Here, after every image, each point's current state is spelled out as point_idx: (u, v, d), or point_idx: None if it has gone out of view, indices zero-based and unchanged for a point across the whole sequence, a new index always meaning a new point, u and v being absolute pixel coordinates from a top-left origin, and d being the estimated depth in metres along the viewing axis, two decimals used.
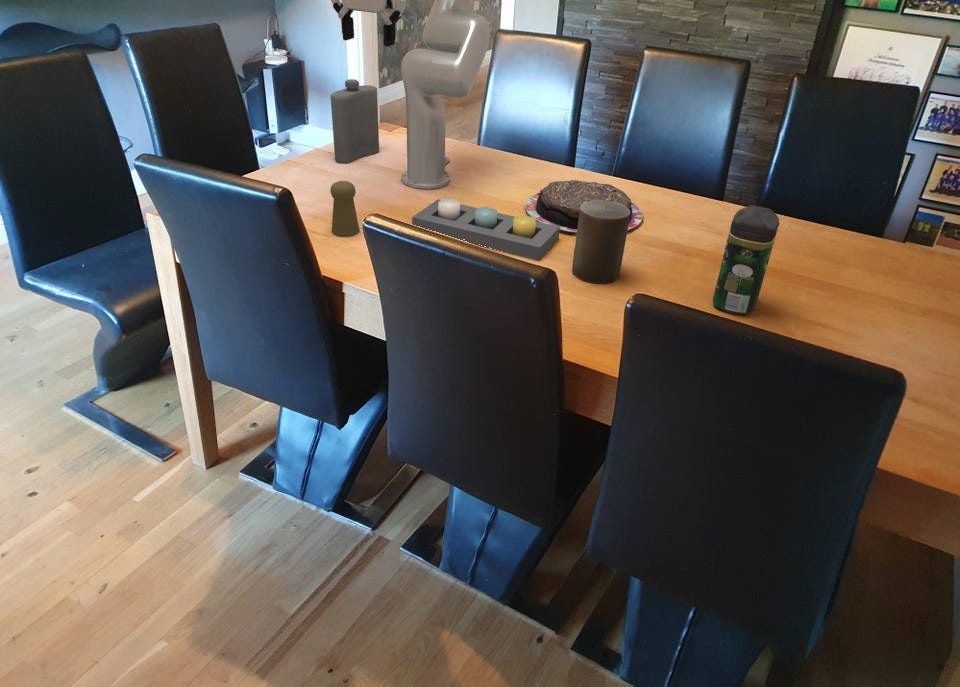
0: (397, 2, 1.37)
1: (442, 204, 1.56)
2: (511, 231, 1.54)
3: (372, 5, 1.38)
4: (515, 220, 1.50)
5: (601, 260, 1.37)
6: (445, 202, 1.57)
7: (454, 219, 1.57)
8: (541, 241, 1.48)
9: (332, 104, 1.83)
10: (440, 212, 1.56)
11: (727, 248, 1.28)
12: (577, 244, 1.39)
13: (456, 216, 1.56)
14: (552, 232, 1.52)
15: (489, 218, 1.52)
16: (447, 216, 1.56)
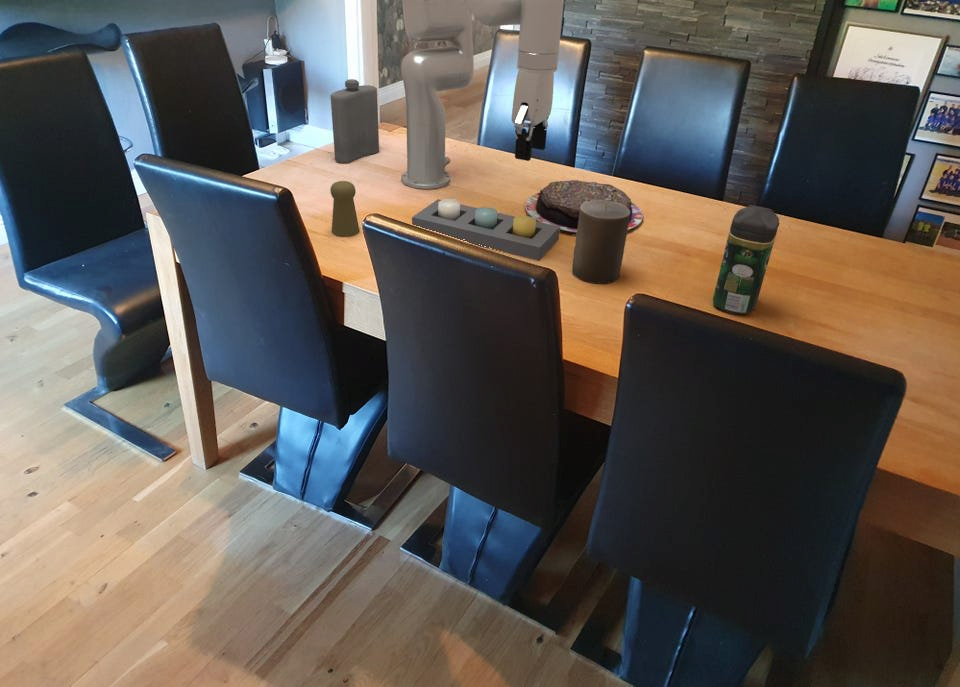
0: None
1: (442, 204, 1.56)
2: (511, 231, 1.54)
3: (548, 112, 1.40)
4: (515, 220, 1.50)
5: (601, 260, 1.37)
6: (445, 202, 1.57)
7: (454, 219, 1.57)
8: (541, 241, 1.48)
9: (332, 104, 1.83)
10: (440, 212, 1.56)
11: (727, 248, 1.28)
12: (577, 244, 1.39)
13: (456, 216, 1.56)
14: (552, 232, 1.52)
15: (489, 218, 1.52)
16: (447, 216, 1.56)
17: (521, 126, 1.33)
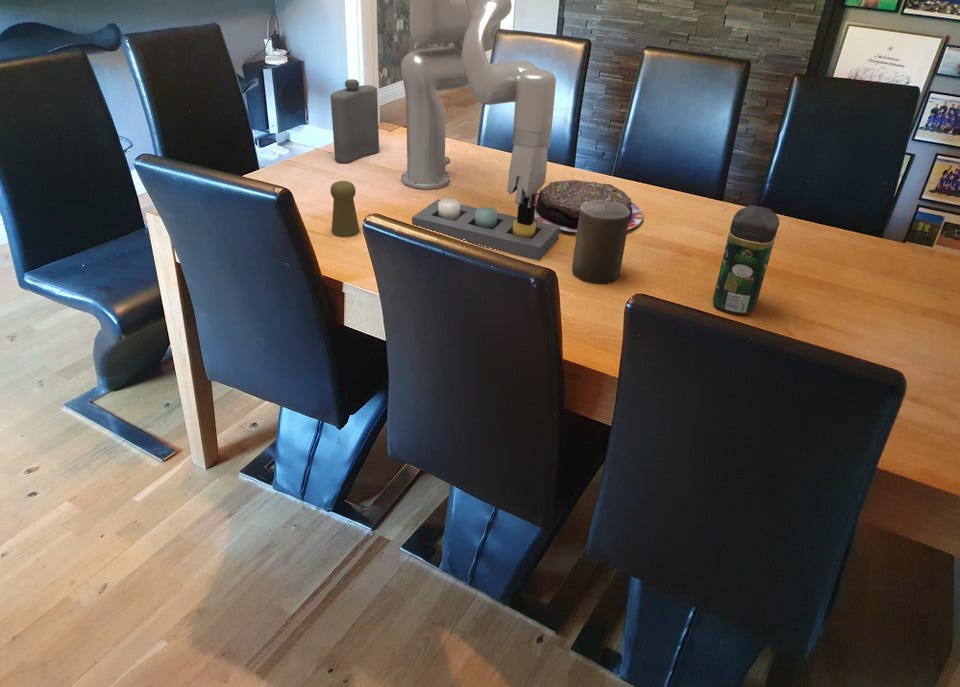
0: None
1: (442, 204, 1.56)
2: (511, 231, 1.54)
3: (542, 182, 1.47)
4: (515, 222, 1.51)
5: (601, 260, 1.37)
6: (445, 202, 1.57)
7: (454, 219, 1.57)
8: (541, 241, 1.48)
9: (332, 104, 1.83)
10: (440, 212, 1.56)
11: (727, 248, 1.28)
12: (577, 244, 1.39)
13: (456, 216, 1.56)
14: (552, 232, 1.52)
15: (489, 218, 1.52)
16: (447, 216, 1.56)
17: (521, 202, 1.43)
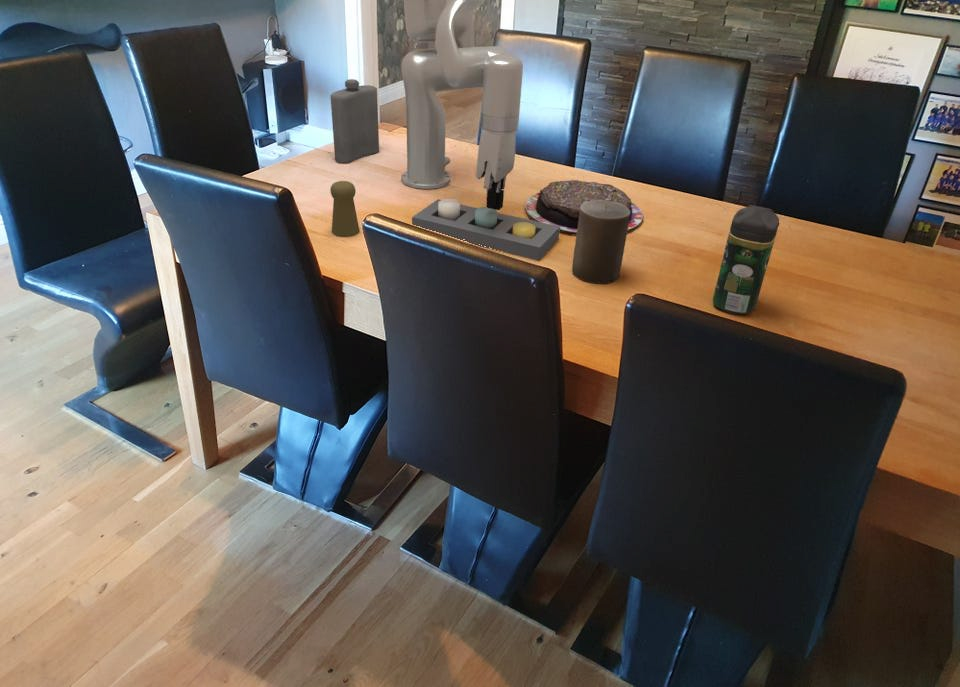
0: None
1: (442, 204, 1.56)
2: (511, 231, 1.54)
3: (511, 167, 1.49)
4: (515, 227, 1.51)
5: (601, 260, 1.37)
6: (445, 202, 1.57)
7: (454, 219, 1.57)
8: (541, 241, 1.48)
9: (332, 104, 1.83)
10: (440, 212, 1.56)
11: (727, 248, 1.28)
12: (577, 244, 1.39)
13: (456, 216, 1.56)
14: (552, 232, 1.52)
15: (489, 218, 1.52)
16: (447, 216, 1.56)
17: (490, 187, 1.45)
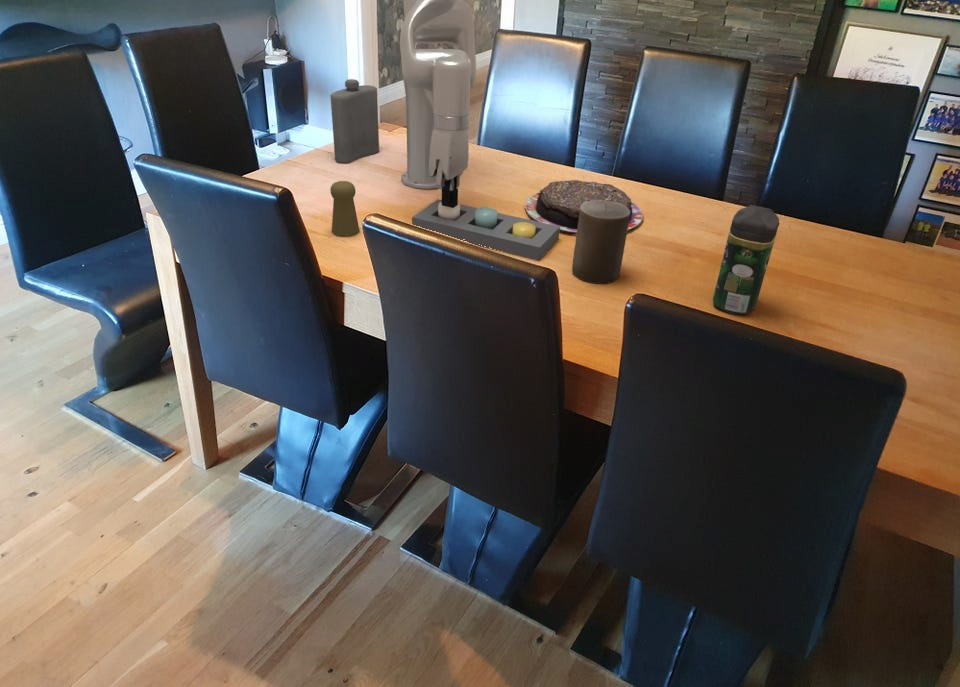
0: None
1: (442, 206, 1.56)
2: (511, 231, 1.54)
3: (464, 166, 1.53)
4: (515, 227, 1.51)
5: (601, 260, 1.37)
6: None
7: None
8: (541, 241, 1.48)
9: (332, 104, 1.83)
10: (440, 214, 1.56)
11: (727, 248, 1.28)
12: (577, 244, 1.39)
13: (456, 218, 1.57)
14: (552, 232, 1.52)
15: (489, 218, 1.52)
16: (447, 218, 1.56)
17: (442, 184, 1.49)
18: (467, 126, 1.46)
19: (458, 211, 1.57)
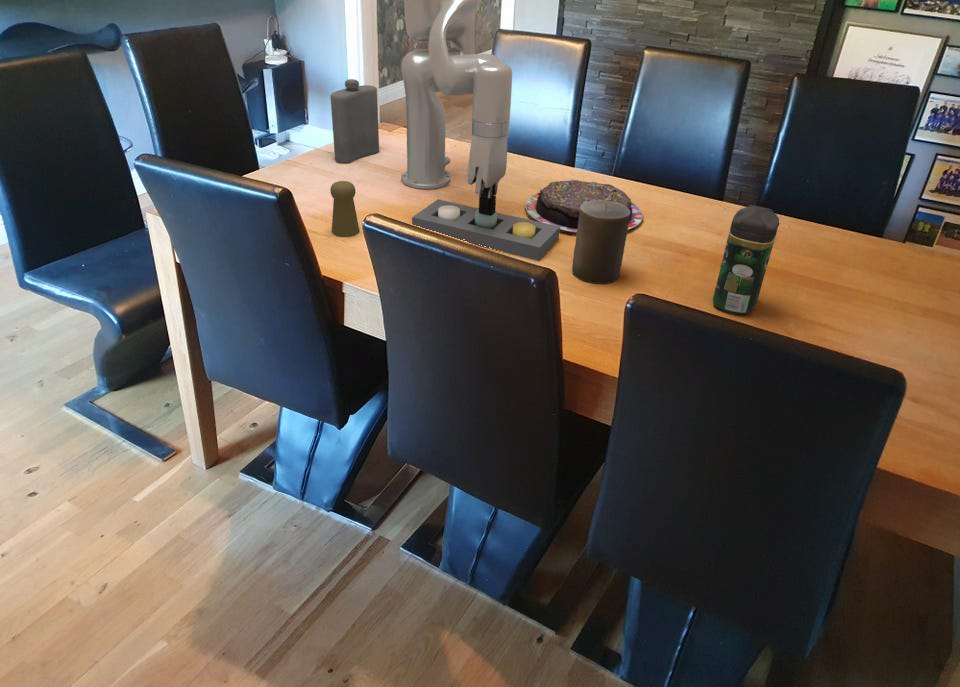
0: None
1: (442, 210, 1.57)
2: (511, 231, 1.54)
3: (502, 173, 1.50)
4: (515, 227, 1.51)
5: (601, 260, 1.37)
6: (445, 209, 1.58)
7: None
8: (541, 241, 1.48)
9: (332, 104, 1.83)
10: None
11: (727, 248, 1.28)
12: (577, 244, 1.39)
13: None
14: (552, 232, 1.52)
15: (489, 220, 1.52)
16: None
17: (481, 192, 1.46)
18: (507, 133, 1.43)
19: (458, 216, 1.57)
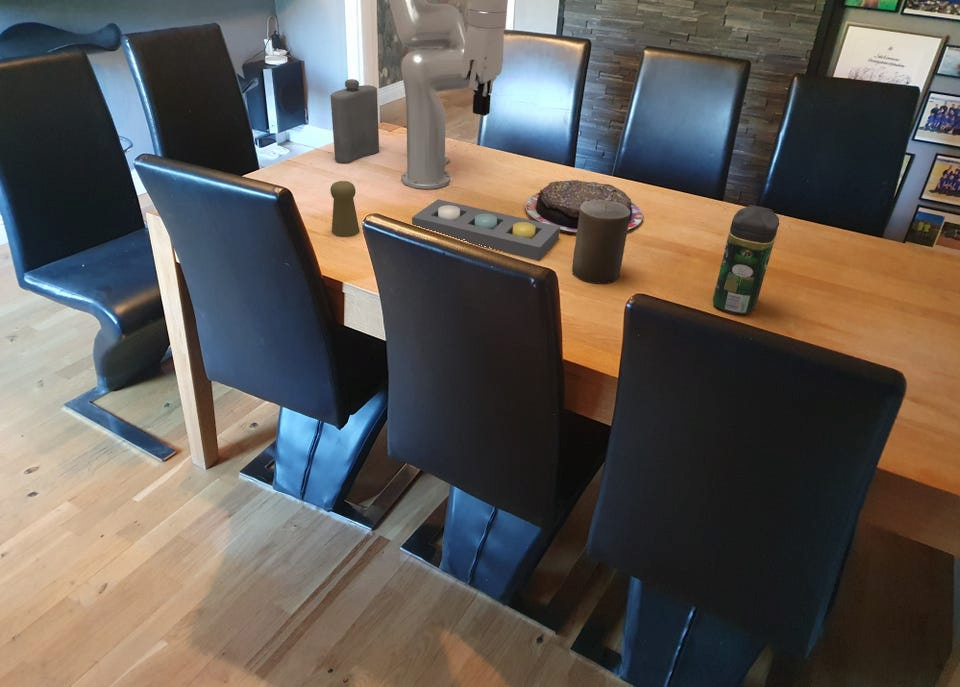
0: None
1: (442, 210, 1.57)
2: (511, 231, 1.54)
3: (498, 70, 1.45)
4: (515, 227, 1.51)
5: (601, 260, 1.37)
6: (445, 209, 1.58)
7: None
8: (541, 241, 1.48)
9: (332, 104, 1.83)
10: None
11: (727, 248, 1.28)
12: (577, 244, 1.39)
13: None
14: (552, 232, 1.52)
15: (489, 225, 1.53)
16: None
17: (475, 88, 1.41)
18: (504, 24, 1.37)
19: (458, 216, 1.57)
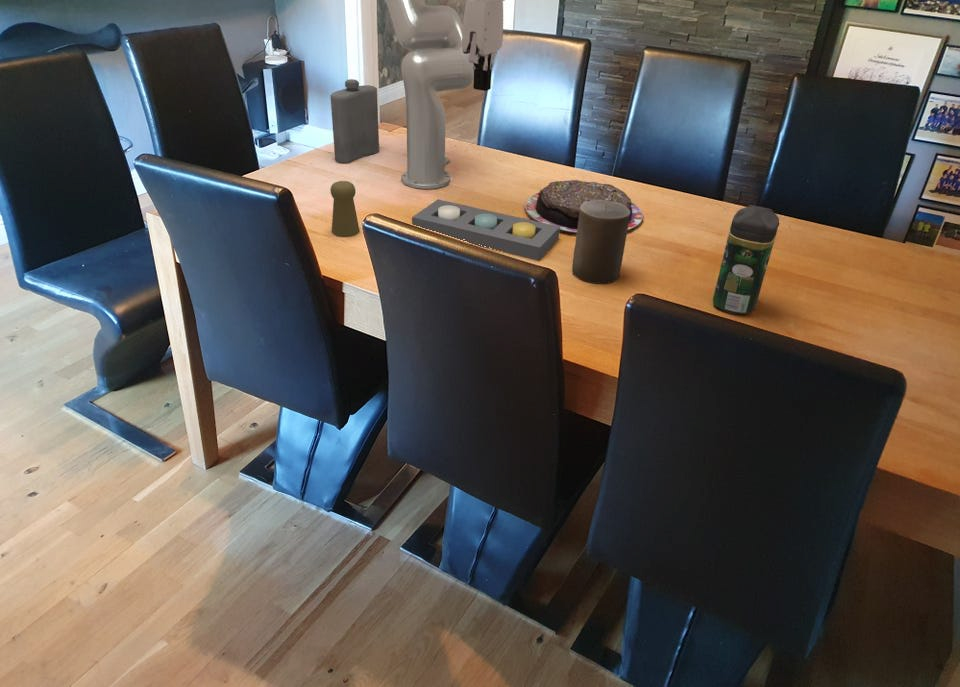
0: None
1: (442, 210, 1.57)
2: (511, 231, 1.54)
3: (498, 44, 1.43)
4: (515, 227, 1.51)
5: (601, 260, 1.37)
6: (445, 209, 1.58)
7: None
8: (541, 241, 1.48)
9: (332, 104, 1.83)
10: None
11: (727, 248, 1.28)
12: (577, 244, 1.39)
13: None
14: (552, 232, 1.52)
15: (489, 225, 1.53)
16: None
17: (475, 61, 1.40)
18: None
19: (458, 216, 1.57)
